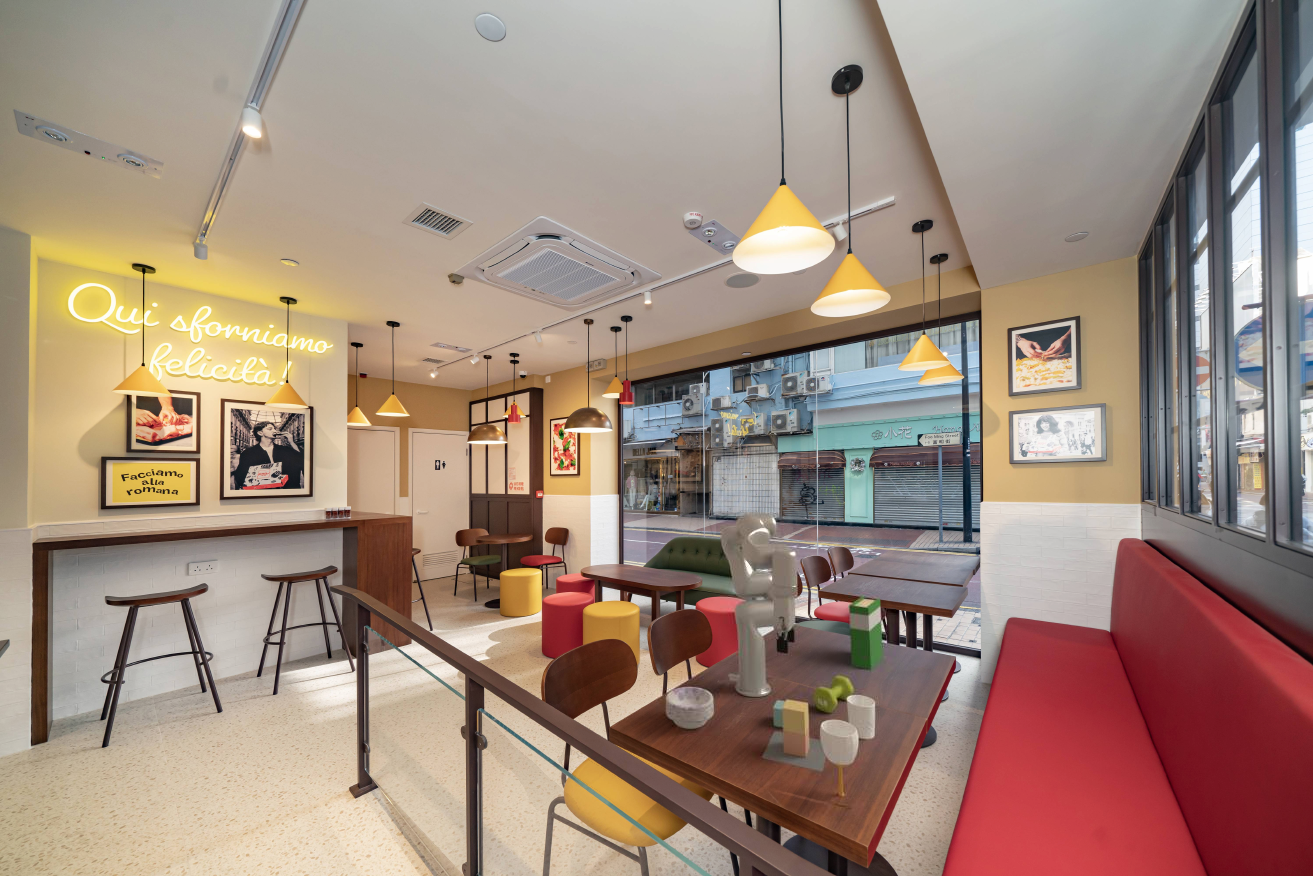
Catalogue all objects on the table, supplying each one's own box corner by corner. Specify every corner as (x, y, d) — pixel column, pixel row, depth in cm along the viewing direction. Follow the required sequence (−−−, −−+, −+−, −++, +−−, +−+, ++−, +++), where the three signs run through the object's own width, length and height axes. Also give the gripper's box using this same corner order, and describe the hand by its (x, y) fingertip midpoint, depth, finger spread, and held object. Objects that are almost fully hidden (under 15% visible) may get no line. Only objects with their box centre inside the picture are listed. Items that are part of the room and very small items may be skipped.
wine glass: (853, 814, 116) (850, 741, 117) (815, 797, 122) (812, 729, 123) (867, 795, 123) (864, 726, 124) (830, 780, 129) (828, 715, 130)
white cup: (874, 744, 145) (872, 708, 146) (845, 737, 149) (844, 702, 150) (878, 732, 152) (876, 698, 152) (851, 726, 156) (849, 692, 157)
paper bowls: (674, 737, 151) (673, 710, 152) (660, 714, 166) (660, 689, 166) (721, 729, 155) (720, 703, 156) (704, 708, 170) (703, 683, 170)
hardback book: (864, 653, 218) (862, 596, 220) (882, 656, 214) (880, 598, 215) (851, 665, 204) (849, 605, 206) (871, 669, 200) (868, 608, 201)
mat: (761, 759, 138) (761, 757, 138) (774, 732, 153) (774, 730, 153) (822, 774, 132) (822, 771, 132) (830, 744, 146) (830, 741, 146)
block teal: (773, 727, 156) (773, 707, 156) (777, 719, 161) (777, 699, 162) (793, 731, 153) (792, 711, 154) (797, 722, 159) (796, 703, 159)
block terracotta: (783, 752, 141) (783, 730, 141) (788, 742, 146) (787, 720, 147) (805, 757, 138) (805, 734, 139) (809, 746, 144) (808, 724, 144)
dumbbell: (834, 716, 162) (833, 693, 163) (811, 708, 168) (810, 686, 169) (856, 700, 174) (855, 678, 174) (834, 693, 180) (833, 672, 180)
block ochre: (783, 730, 141) (782, 708, 142) (787, 720, 147) (786, 699, 147) (805, 734, 139) (804, 712, 139) (808, 724, 144) (808, 703, 144)
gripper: (778, 582, 164) (780, 636, 163) (765, 595, 148) (766, 655, 148) (802, 584, 160) (803, 639, 160) (791, 598, 145) (792, 659, 144)
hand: (786, 646), depth 154 cm, fingers open, 9 cm apart
